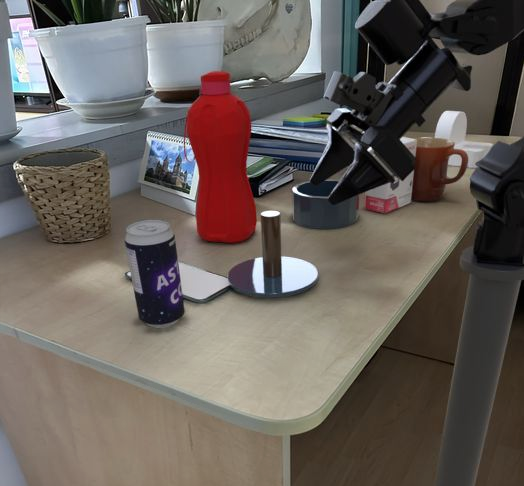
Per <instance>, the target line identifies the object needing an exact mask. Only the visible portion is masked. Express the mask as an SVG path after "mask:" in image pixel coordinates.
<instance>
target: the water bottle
mask: <svg viewBox="0 0 524 486" xmlns="http://www.w3.org/2000/svg"><path fill="white" fill-rule="evenodd" d="M231 81H233V79H231V74H230V72H228V71H224V70H213V71H210V72H207V73H205V74H203V75H200V86H201V87H199V88H198V91H199V94H198V95H199V96H198V97H197V98H196V99H195V100H194V101H193V103H192V104H191V105H190V107H189V108H188V110H187V115H186V118H185V124H184V131H183V153H184V157H185V160H186V161H187V162H188V163H194V161H195V162H196V166H197V170H198V171H197V172H198V184H197V185H198V186H197V195H196V204H195V205H196V206H195V219H196V220H195V222H196V223H195V224H196V231H197V234H198V236H199V237H200V239H202V240H204V241H205V242H214V243H215V242H216V243H227V244H237V243H242V242H244V241H246V240H247V239H248V238H250V237H251V235H252V234H253V233H254V232H255V231H256V227H257V221H258V219H257V205H256V201H255V198H254V195H253V192H252V189H251V184H250V181H249V177H248V171H247V162H248V157H249V156H248V155H249V149H250V141H251V135H252V119H251V115H250V110H249V108H248V107H247V105H246V103H245V101H243V100H242V99H241V98H240V97H238V96H236V95H234V94H233V93H231V92H232V89H231ZM186 134H187V138H188V142H189V144H190V147H191V150H192V153H193V160H192V161H190V160H189V159H188V156H187V153H186Z"/></svg>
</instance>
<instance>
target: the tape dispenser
mask: <svg viewBox="0 0 524 486" xmlns="http://www.w3.org/2000/svg"><path fill="white" fill-rule="evenodd" d="M467 125H468V119H467V114H466V113H465V112H464V111H461V110H460V111H459V110H458V111H457V110H445V111H443V113H441V115H440V117H439V119H438V121H437V125H436V128H435V131H434V138H442V139H448V140H451V141H453V142H455V146H454V149H461V150H464V151H465V152H466V153H467V155H468V166H467V168H470V169H476V168H477V167H478V166H477V165H475V163H476V162H478V161H480V160H481V159H482V158H484V157H485V156H486V155H487V153H488V152H489V151H490V149H491V148H492V146H493V145H494V143H492V142H491V143H490V142H481V141H470V140H466V135H467V128H468V127H467ZM421 138H430V136H429V137H428V136H427V137H426V136H424V137H423V136H421ZM461 163H462V158H461V156H460V155H457V154H454V155H452V156H450V157H449V161H448V166H454V167H461Z"/></svg>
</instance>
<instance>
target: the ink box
mask: <svg viewBox="0 0 524 486" xmlns="http://www.w3.org/2000/svg"><path fill="white" fill-rule="evenodd" d="M416 139H417V138H411V137H406V136H403V137H402V138H401V139H400V140H401V142H402V143H403V144H404V145H405V146H406V147H407V148H408V150H409V151H410V152H411V153H412V154H413V155H414V156H416V147H417V140H416ZM413 176H414V170H413V171H412V172H411V173H410V174H409V175H408V176H407V177H406V178H405V179H404V180H403V182H402V181H401V180H399V179H398V178H396V177H395V176H394V175H392V177H393V178H394V179H395V182H394V183H387V184H385V185H382V186H379V187H377V188H374V189H371V190H369V191H366V192H365V199H364V209H365V210H369V211H373V212H378V213H381V214H388V213H391V212H392V211H395V210H397V209H400V208H402V207H404V206H407V205H410V204H411V203H412V200H411V194H412V185H413Z"/></svg>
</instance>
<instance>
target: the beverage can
mask: <svg viewBox="0 0 524 486" xmlns="http://www.w3.org/2000/svg"><path fill="white" fill-rule="evenodd" d="M125 231H126V235H125V238H124V245H125V251H126V255H127V262H128V266H129V271H130V273H131V278H132V280H131V282H132V288H133V293H134V299H135V305H136V309H137V314H138V319H139V320H140V321H141V322H143V324H146V325H147V326H149V327H151V328H156V329H163V328H169V327H171V326H174V325H175V324H177V323H178V322H179V321H180V320H181V318H182V317H183V316H184V315H185V312H186V310H185V309H186V308H185V304H184V303H185V302H184V298H183V294H182V287H181V279H180V272H179V265H178V262H179V259H178V251H177V242H176V237H175V234H174V232H173V230H172V229H171V224H170V223H169V222H167V221H165V220H160V219H148V220H142V221H137V222H133V223H131V224H129V225H128V226H127V227H126V229H125Z"/></svg>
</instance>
